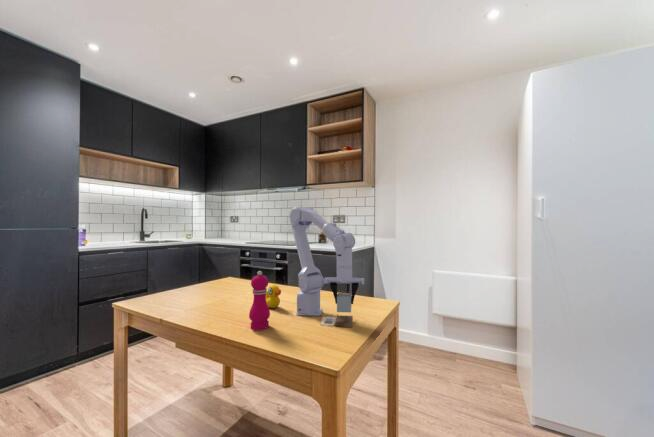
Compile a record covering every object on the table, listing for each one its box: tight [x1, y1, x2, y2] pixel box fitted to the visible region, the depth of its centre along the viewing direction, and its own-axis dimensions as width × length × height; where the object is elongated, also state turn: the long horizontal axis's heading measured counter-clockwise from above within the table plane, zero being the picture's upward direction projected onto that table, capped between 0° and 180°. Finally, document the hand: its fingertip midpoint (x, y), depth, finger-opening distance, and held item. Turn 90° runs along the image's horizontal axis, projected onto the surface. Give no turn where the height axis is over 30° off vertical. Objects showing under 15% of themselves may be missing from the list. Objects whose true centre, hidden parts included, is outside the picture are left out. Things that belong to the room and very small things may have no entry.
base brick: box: [335, 314, 354, 328], centre depth 101 cm, size 6×6×2 cm
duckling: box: [265, 284, 282, 309], centre depth 120 cm, size 11×5×10 cm, turn 44°
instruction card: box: [320, 316, 337, 327], centre depth 103 cm, size 5×8×1 cm, turn 174°
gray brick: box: [336, 292, 352, 314], centre depth 100 cm, size 5×5×6 cm
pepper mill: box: [248, 270, 271, 331], centre depth 98 cm, size 7×7×20 cm
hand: (344, 303), depth 101 cm, fingers closed on gray brick, 5 cm apart
